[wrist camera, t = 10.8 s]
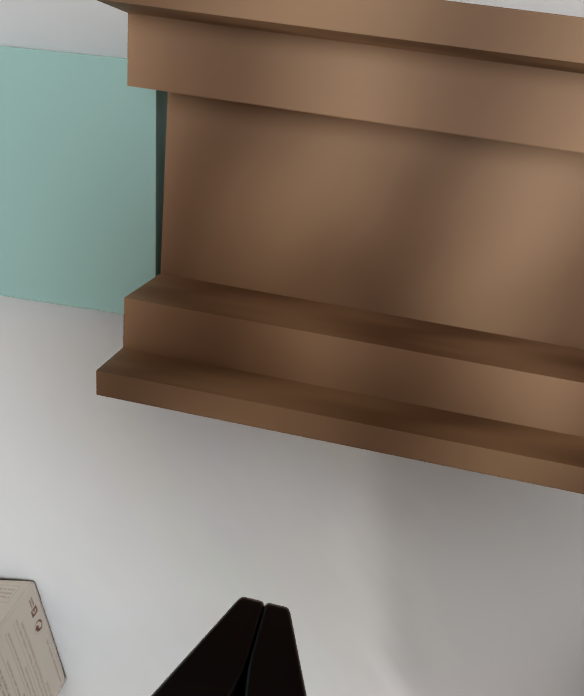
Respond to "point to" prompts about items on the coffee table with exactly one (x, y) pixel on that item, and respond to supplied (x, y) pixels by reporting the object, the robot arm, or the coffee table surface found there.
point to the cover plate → (78, 179)
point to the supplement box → (26, 644)
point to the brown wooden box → (368, 228)
